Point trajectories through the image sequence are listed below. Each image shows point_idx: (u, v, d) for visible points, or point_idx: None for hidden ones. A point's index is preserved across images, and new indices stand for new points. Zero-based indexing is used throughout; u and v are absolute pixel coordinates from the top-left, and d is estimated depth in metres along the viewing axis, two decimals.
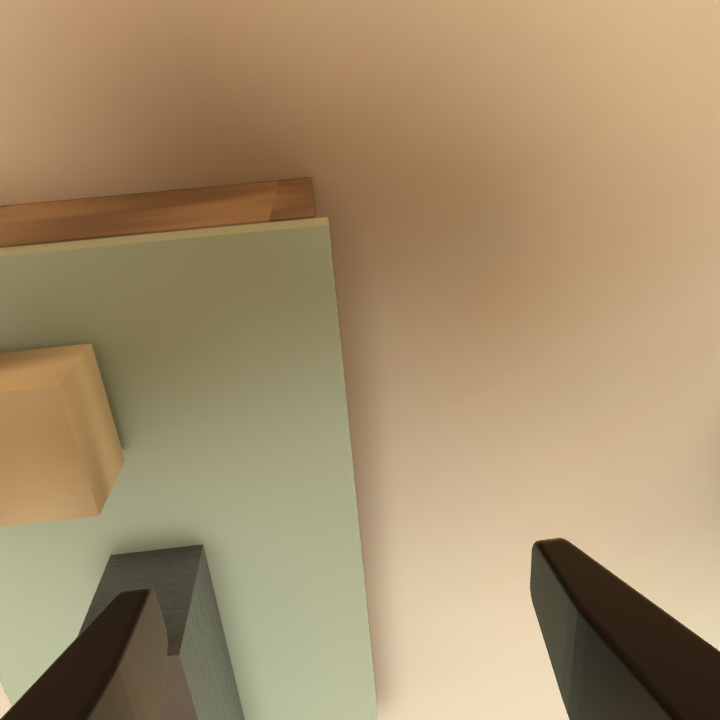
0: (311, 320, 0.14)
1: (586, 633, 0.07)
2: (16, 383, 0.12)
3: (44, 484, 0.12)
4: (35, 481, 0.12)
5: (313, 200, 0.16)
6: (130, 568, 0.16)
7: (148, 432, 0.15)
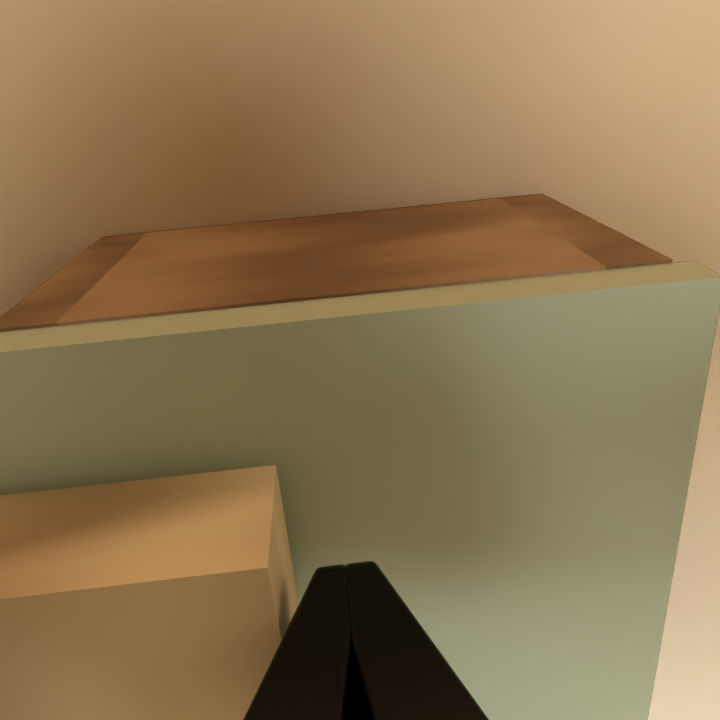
0: (662, 413, 0.09)
1: (355, 663, 0.07)
2: (192, 557, 0.07)
3: (224, 703, 0.08)
4: (210, 700, 0.08)
5: None
6: None
7: (398, 568, 0.10)
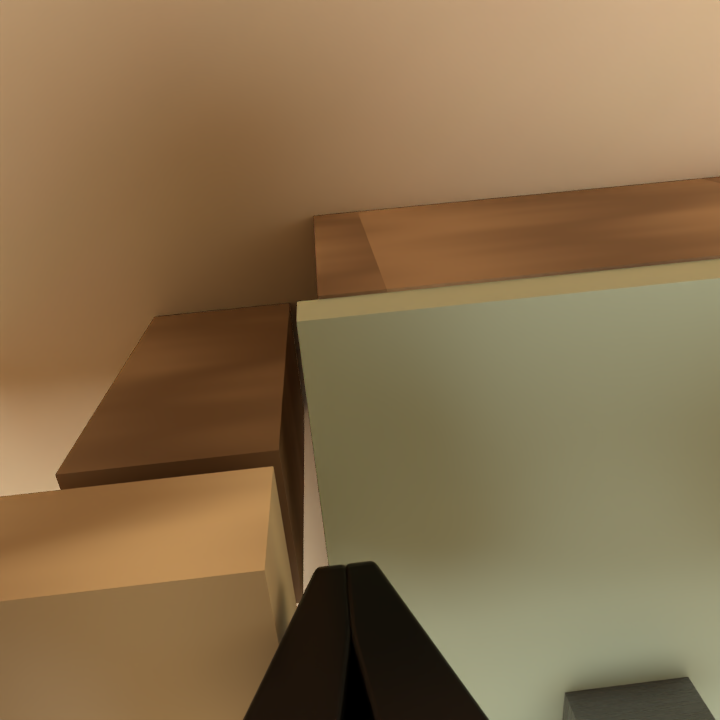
0: None
1: (355, 663, 0.07)
2: (188, 559, 0.07)
3: (220, 707, 0.08)
4: (207, 703, 0.08)
5: None
6: (612, 717, 0.11)
7: (681, 536, 0.10)
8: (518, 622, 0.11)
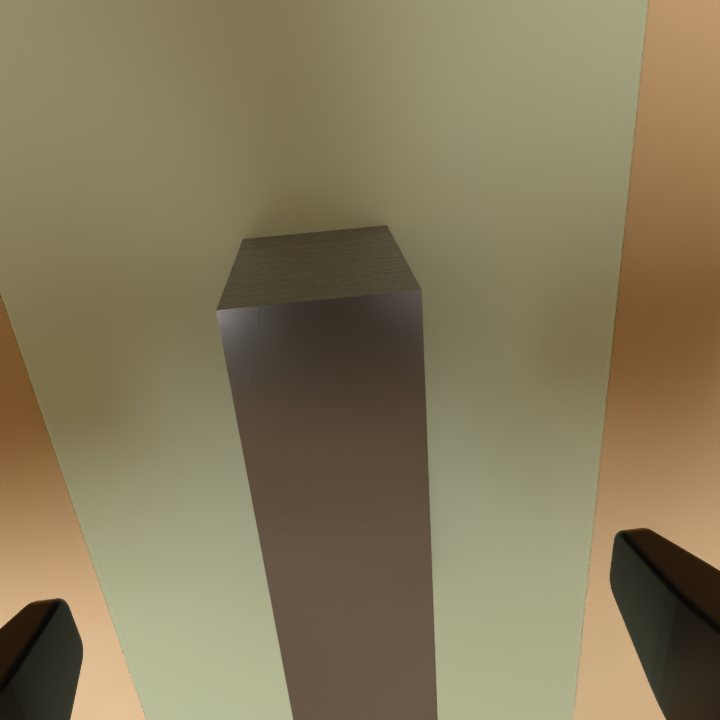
0: None
1: (687, 620, 0.07)
2: None
3: None
4: None
5: None
6: (281, 244, 0.10)
7: None
8: (159, 115, 0.09)
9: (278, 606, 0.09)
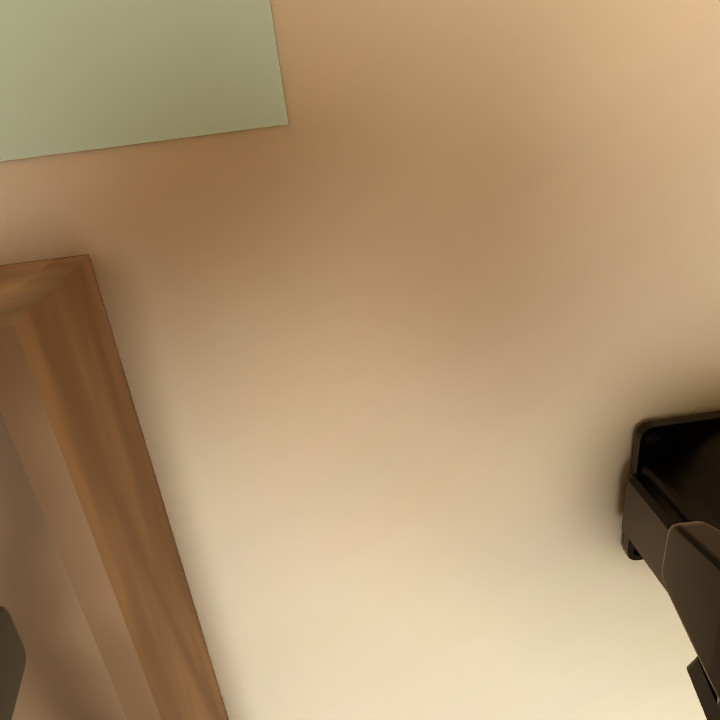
0: None
1: None
2: None
3: None
4: None
5: (53, 292, 0.16)
6: None
7: None
8: None
9: None
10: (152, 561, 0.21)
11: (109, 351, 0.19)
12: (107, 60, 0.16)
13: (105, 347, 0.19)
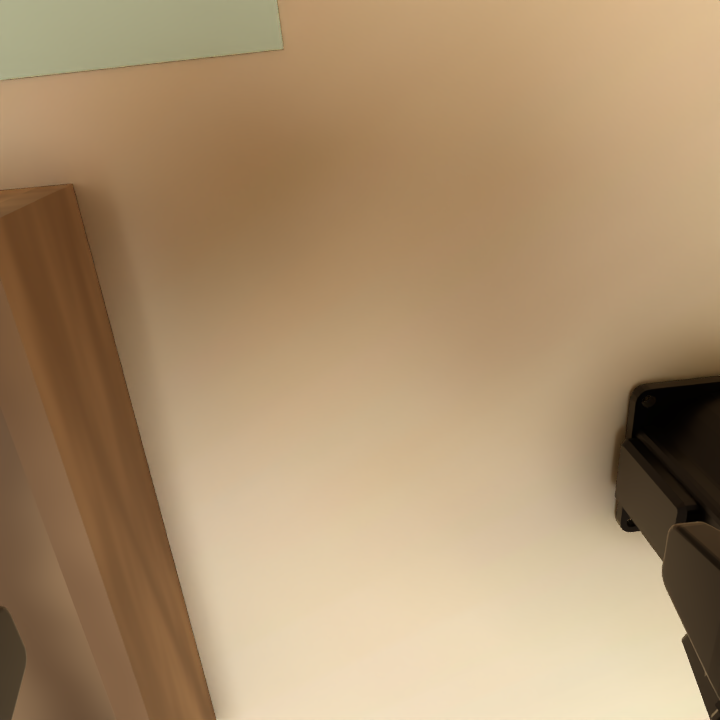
0: None
1: None
2: None
3: None
4: None
5: (30, 208, 0.15)
6: None
7: None
8: None
9: None
10: (128, 506, 0.20)
11: (91, 285, 0.19)
12: None
13: (86, 280, 0.19)
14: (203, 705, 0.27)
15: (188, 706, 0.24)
